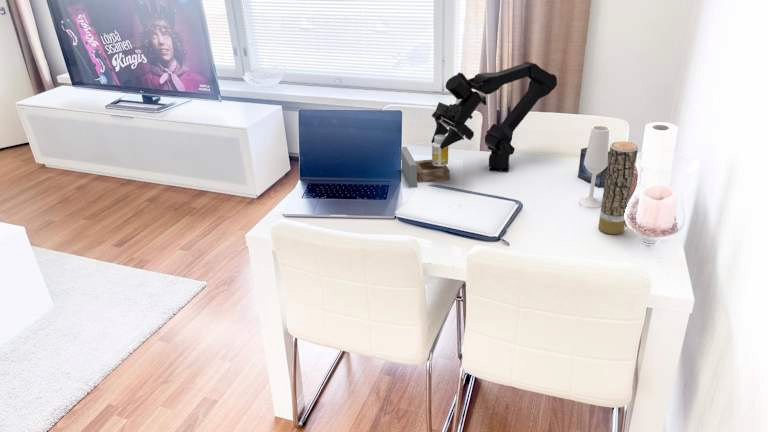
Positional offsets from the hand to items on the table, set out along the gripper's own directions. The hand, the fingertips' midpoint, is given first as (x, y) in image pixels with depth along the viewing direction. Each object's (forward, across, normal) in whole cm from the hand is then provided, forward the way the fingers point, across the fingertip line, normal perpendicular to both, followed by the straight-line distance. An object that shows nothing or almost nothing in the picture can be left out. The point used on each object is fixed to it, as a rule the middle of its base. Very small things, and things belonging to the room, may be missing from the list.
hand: (436, 145), depth 192 cm
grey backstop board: (+14, -9, +5) cm, 17 cm away
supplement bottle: (+4, 0, +6) cm, 7 cm away
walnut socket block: (+9, -7, +10) cm, 15 cm away
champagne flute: (-14, +37, +34) cm, 52 cm away
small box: (-23, +24, +43) cm, 55 cm away
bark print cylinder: (-9, +53, +28) cm, 61 cm away
